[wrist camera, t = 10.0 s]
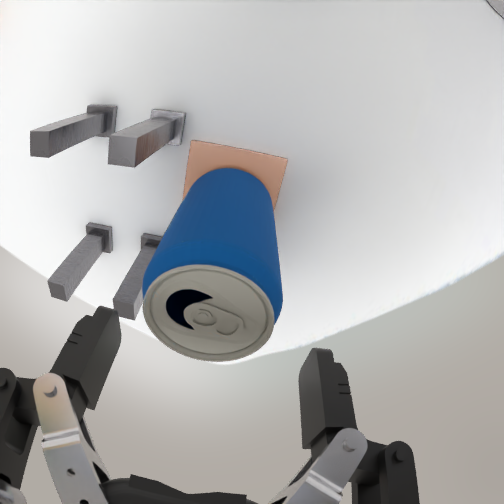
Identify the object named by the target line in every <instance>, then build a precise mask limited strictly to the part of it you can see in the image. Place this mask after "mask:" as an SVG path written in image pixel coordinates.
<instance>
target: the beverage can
mask: <svg viewBox="0 0 504 504" xmlns="http://www.w3.org/2000/svg"><path fill="white" fill-rule="evenodd" d="M142 293H143V299H144V301H143V314H144V318H145V321H146V323H147V325H148V327H149V328H150V330H151V331H152V333H153V334H154V335H155V336H156V337H157V338H158V339H159V340H160V341H161V342H162V343H163V344H165V345H166V346H167V347H169V348H170V349H172V350H174V351H176V352H178V353H180V354H182V355H185V356H187V357H190V358H194V359H198V360H203V361H213V362H223V361H231V360H236V359H240V358H243V357H246V356H248V355H250V354H252V353H254V352H256V351H257V350H259V349H260V348H261V347H262V346H263V345H264V344H265V343H266V342H267V341H268V339H269V338H270V336H271V334H272V331H273V328H274V325H275V323H276V321H277V319H278V317H279V315H280V312H281V309H282V302H283V294H282V284H281V274H280V265H279V256H278V247H277V238H276V230H275V221H274V213H273V205H272V200H271V197H270V194H269V192H268V190H267V189H266V187H265V186H264V185H263V183H262V182H261V181H260V180H259V179H257V178H256V177H255V176H253V175H251V174H250V173H248V172H245V171H243V170H239V169H234V168H221V169H216V170H213V171H210V172H208V173H206V174H204V175H202V176H201V177H200V178H198V179H197V180H196V181H195V182H194V183H193V185H192V186H191V188H190V189H189V191H188V193H187V194H186V196H185V198H184V200H183V201H182V203H181V205H180V207H179V208H178V210H177V212H176V214H175V216H174V217H173V219H172V221H171V223H170V225H169V226H168V228H167V230H166V232H165V234H164V236H163V238H162V239H161V241H160V243H159V245H158V247H157V249H156V251H155V253H154V255H153V257H152V259H151V261H150V263H149V265H148V267H147V269H146V271H145V273H144V277H143V284H142Z"/></svg>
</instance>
